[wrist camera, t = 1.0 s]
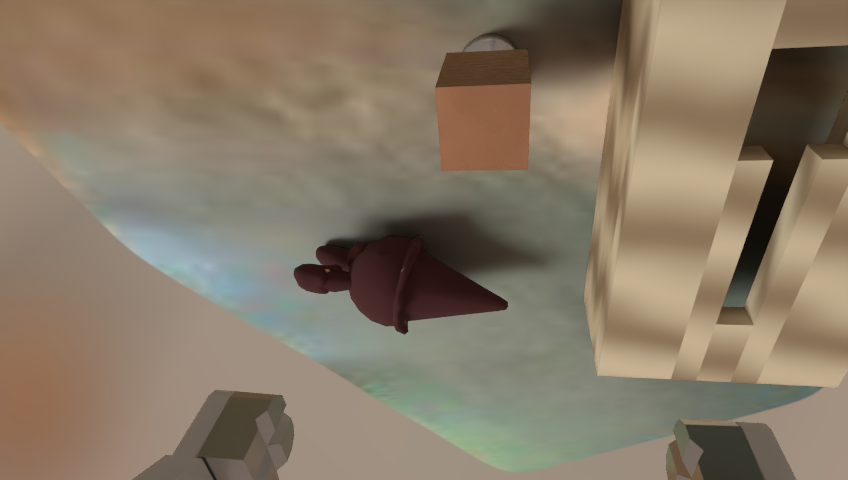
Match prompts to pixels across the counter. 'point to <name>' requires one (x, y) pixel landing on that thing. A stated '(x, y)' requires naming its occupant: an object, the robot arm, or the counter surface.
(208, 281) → the counter surface
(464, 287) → the icecream
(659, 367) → the keyhole plate
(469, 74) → the wooden block
